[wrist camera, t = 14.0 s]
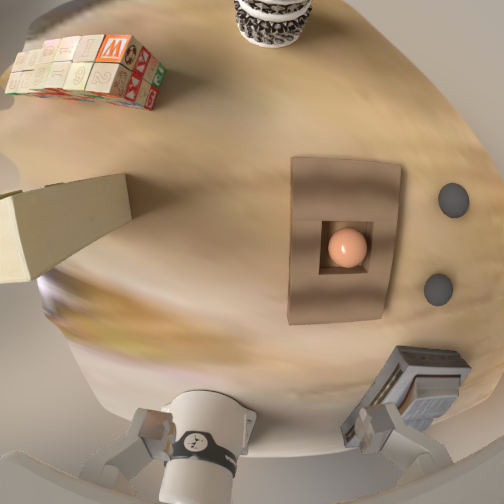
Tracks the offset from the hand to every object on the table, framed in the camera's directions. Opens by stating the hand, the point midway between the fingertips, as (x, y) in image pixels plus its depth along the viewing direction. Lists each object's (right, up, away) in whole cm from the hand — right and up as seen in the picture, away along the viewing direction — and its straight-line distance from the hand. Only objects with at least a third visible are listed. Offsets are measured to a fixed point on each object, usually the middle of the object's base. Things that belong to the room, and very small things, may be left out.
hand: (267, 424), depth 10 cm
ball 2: (+28, +15, +21) cm, 38 cm away
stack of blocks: (-23, +31, +19) cm, 43 cm away
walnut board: (+11, +8, +26) cm, 30 cm away
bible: (+31, -22, +37) cm, 53 cm away
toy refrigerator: (-21, +15, +24) cm, 35 cm away
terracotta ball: (+11, +8, +24) cm, 27 cm away
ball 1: (+28, +1, +26) cm, 38 cm away
